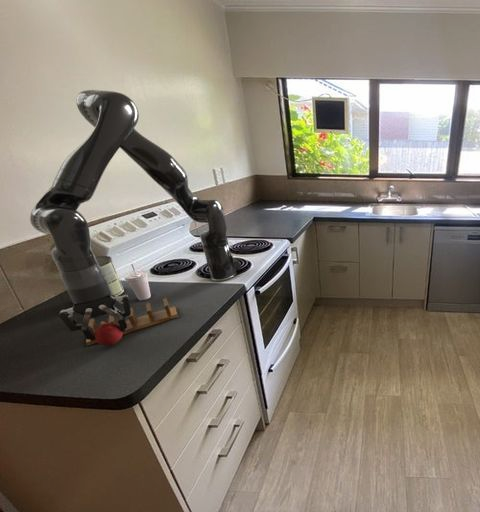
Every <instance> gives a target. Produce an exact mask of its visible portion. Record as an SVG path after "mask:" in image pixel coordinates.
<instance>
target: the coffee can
mask: <svg viewBox="0 0 480 512" xmlns="http://www.w3.org/2000/svg"><path fill="white" fill-rule="evenodd" d="M95 258H96V261H97V263H98V265H99V266H100V268H101V269H102V272H103V273H104V275H105V279H106V281H107V284H108V286H109V289H110V291H111V293H112V295H114V296H115V297H118V296H121V295H122V294H123V293H124V292H125V288H124V287H123V285H122V282H121V280H120V277H119V275H118V272H117V270H116V268H115V265H114V263H113V260H112V257H111V256H109V255H99V256H95Z"/></svg>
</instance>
